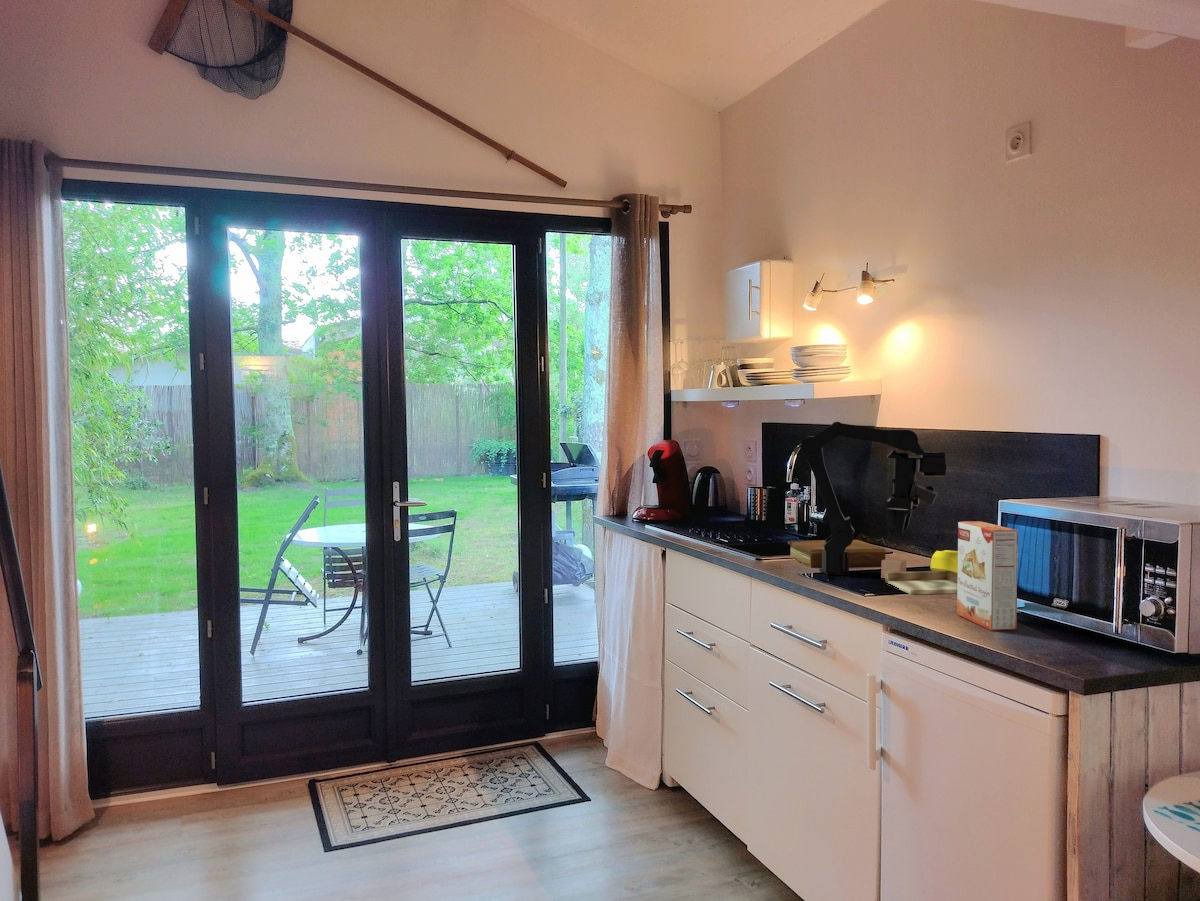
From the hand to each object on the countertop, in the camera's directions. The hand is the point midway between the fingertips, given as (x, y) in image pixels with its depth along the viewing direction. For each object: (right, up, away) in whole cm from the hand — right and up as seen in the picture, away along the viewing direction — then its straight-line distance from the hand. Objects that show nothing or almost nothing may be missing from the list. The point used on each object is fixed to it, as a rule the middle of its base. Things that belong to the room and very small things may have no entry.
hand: (902, 532), depth 232 cm
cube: (-3, -12, -2) cm, 13 cm away
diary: (-12, -12, +25) cm, 30 cm away
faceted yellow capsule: (+16, -13, +3) cm, 21 cm away
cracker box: (-1, -14, -52) cm, 54 cm away
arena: (+2, -13, -15) cm, 20 cm away
